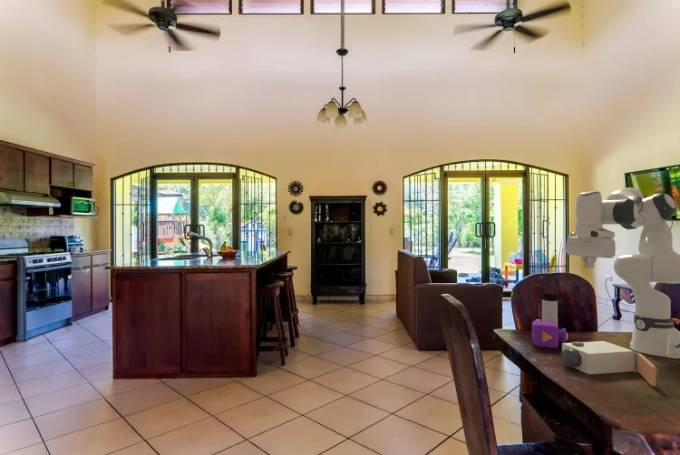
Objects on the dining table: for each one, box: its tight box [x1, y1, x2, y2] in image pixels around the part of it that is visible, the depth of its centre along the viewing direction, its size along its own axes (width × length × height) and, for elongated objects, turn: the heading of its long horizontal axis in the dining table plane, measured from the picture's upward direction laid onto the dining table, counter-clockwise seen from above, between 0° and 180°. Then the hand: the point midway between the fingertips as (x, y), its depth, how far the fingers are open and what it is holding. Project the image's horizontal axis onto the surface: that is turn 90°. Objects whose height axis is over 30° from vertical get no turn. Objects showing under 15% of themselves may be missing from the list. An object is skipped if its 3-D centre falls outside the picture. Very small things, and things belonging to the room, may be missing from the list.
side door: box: [633, 351, 659, 387], centre depth 126 cm, size 16×2×6 cm, turn 157°
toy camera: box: [531, 319, 569, 349], centre depth 162 cm, size 11×14×10 cm
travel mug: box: [541, 292, 559, 326], centre depth 176 cm, size 6×7×20 cm
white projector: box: [560, 340, 635, 375], centre depth 137 cm, size 21×12×8 cm, turn 100°
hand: (588, 268), depth 149 cm, fingers closed
